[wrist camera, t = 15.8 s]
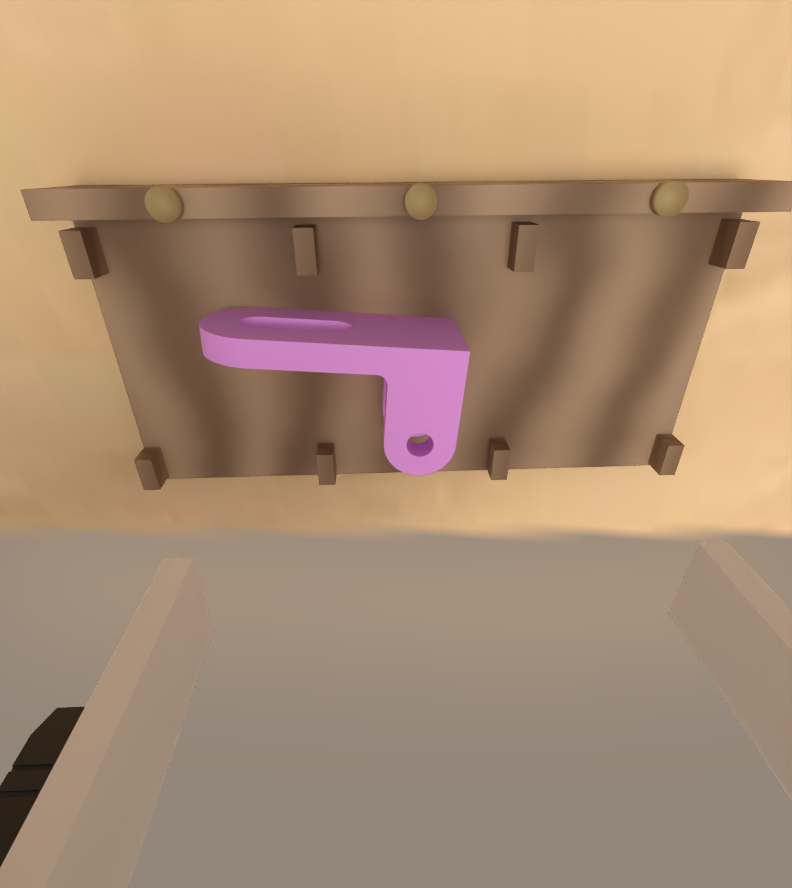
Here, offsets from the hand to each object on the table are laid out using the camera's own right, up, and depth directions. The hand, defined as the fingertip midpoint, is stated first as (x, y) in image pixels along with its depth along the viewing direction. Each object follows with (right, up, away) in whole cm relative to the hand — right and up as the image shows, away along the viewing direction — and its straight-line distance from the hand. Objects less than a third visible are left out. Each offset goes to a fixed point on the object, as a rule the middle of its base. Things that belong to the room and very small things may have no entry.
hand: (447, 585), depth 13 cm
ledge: (0, +10, +16) cm, 19 cm away
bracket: (-5, +10, +11) cm, 16 cm away
